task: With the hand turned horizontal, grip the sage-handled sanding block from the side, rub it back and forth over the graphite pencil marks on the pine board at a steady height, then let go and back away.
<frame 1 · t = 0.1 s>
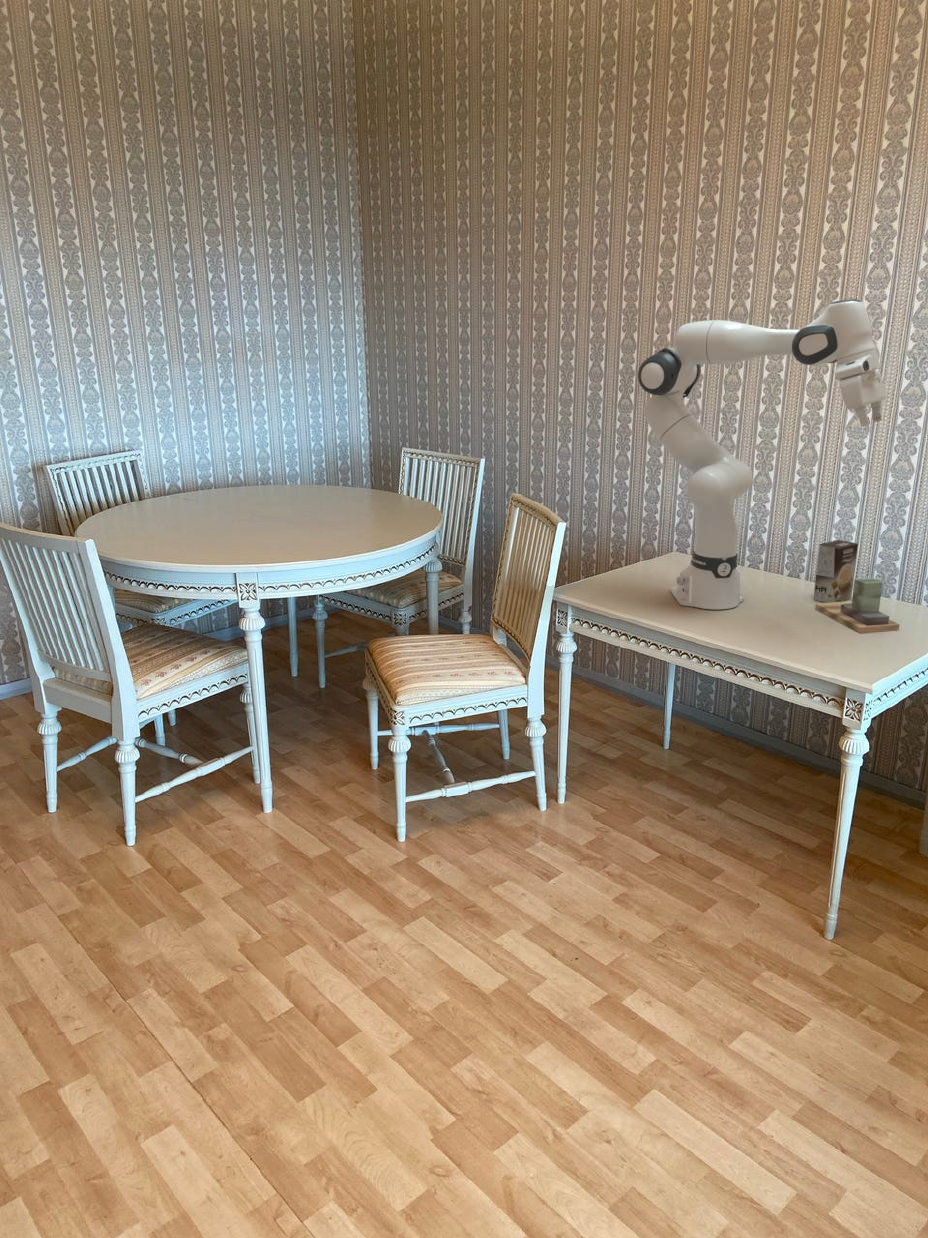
hand: (872, 423, 235), 52 cm above the table, tool tilted 20°, fingers open, 8 cm apart
pine board: (855, 619, 258), on the table
coffee box: (832, 599, 275), on the table
sanding block: (863, 617, 254), point 2 cm above the table, touching pine board
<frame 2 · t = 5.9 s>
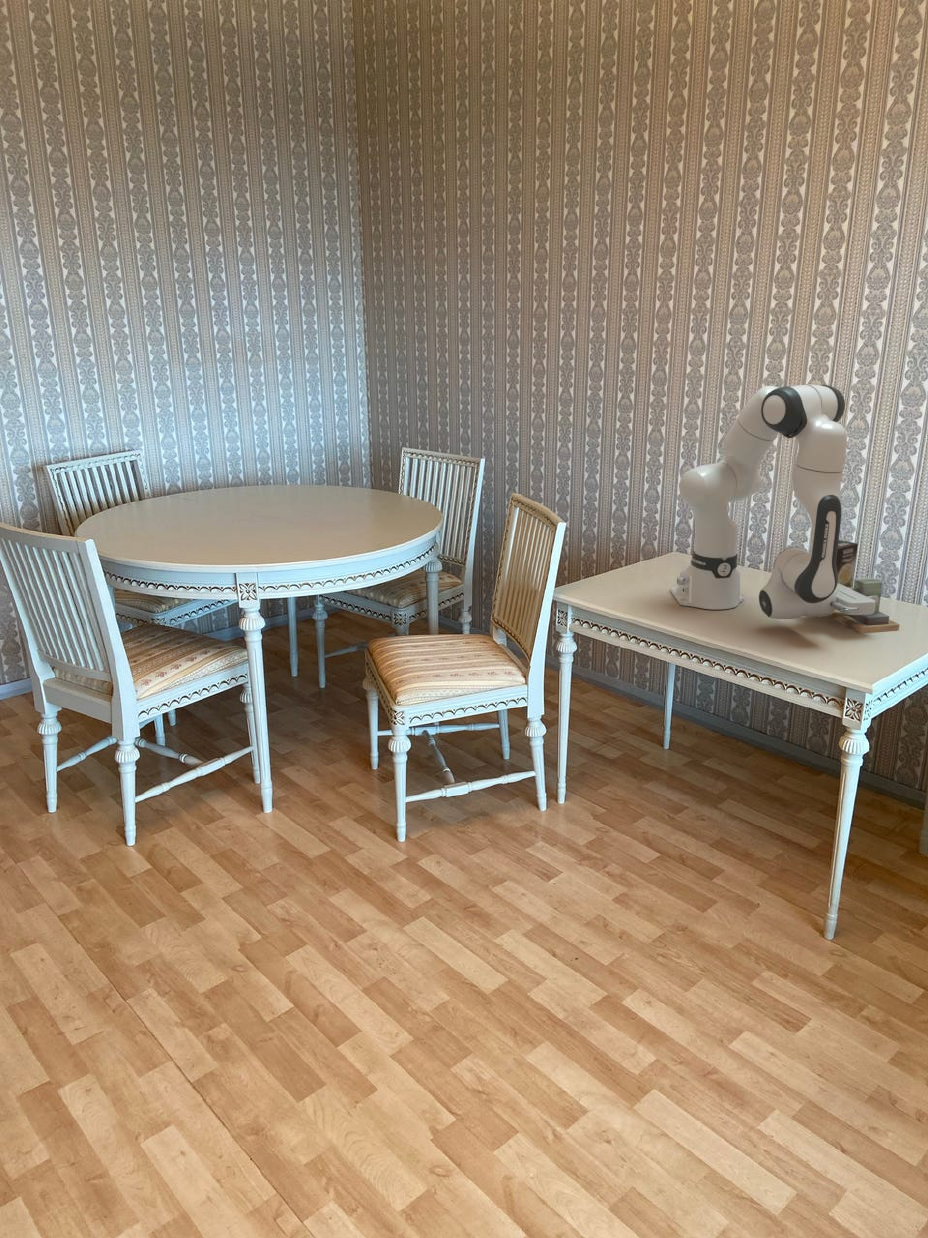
hand: (869, 595, 252), 8 cm above the table, tool horizontal, fingers closed on sanding block, 4 cm apart
sanding block: (863, 617, 254), point 2 cm above the table, touching gripper, pine board
everything else where it was.
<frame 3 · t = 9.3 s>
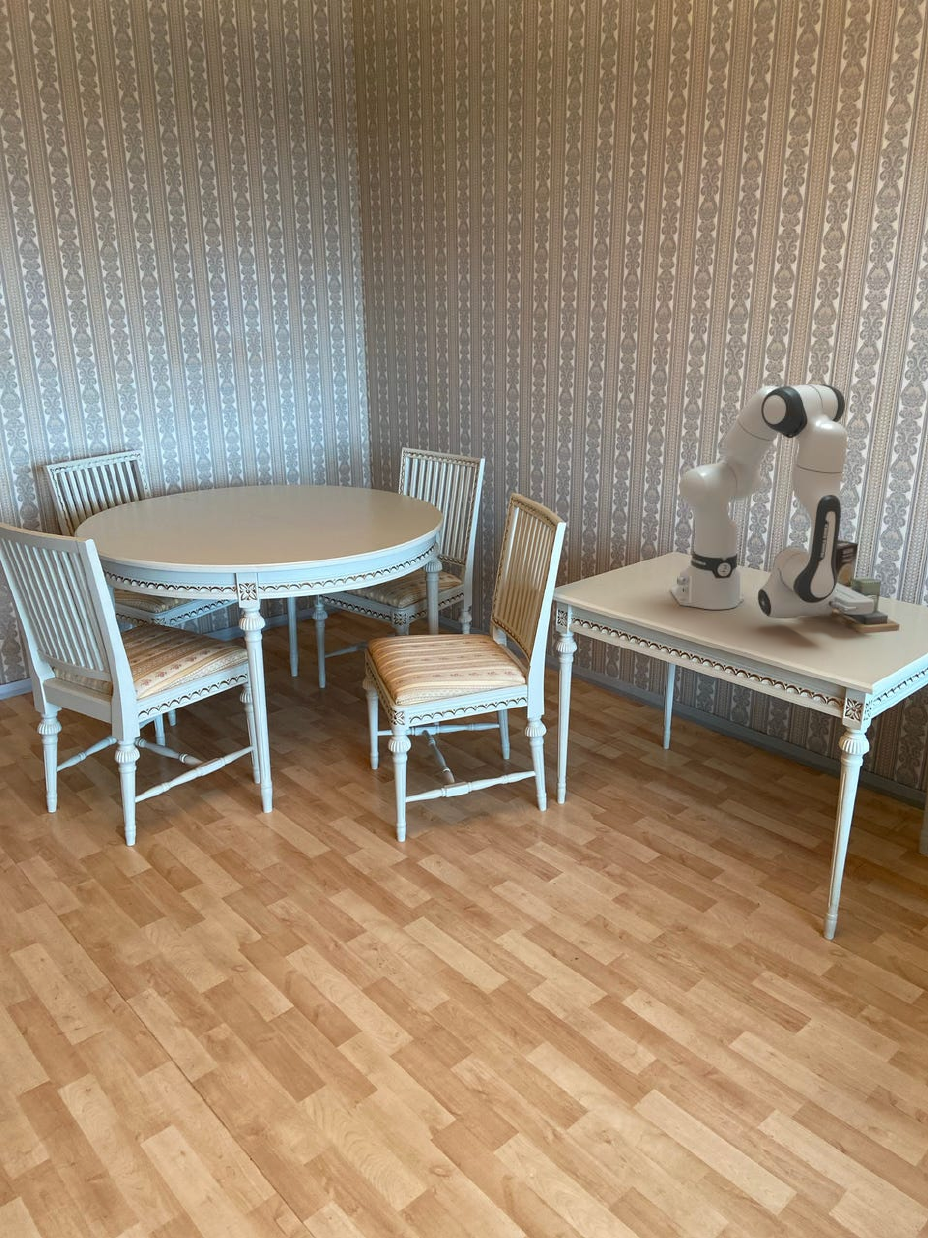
hand: (868, 594, 253), 7 cm above the table, tool horizontal, fingers closed on sanding block, 4 cm apart
sanding block: (862, 616, 255), point 2 cm above the table, touching gripper
everything else where it was.
when the fingers open (7 cm above the table, at t = 13.7 s): sanding block stays where it is, resting on pine board.
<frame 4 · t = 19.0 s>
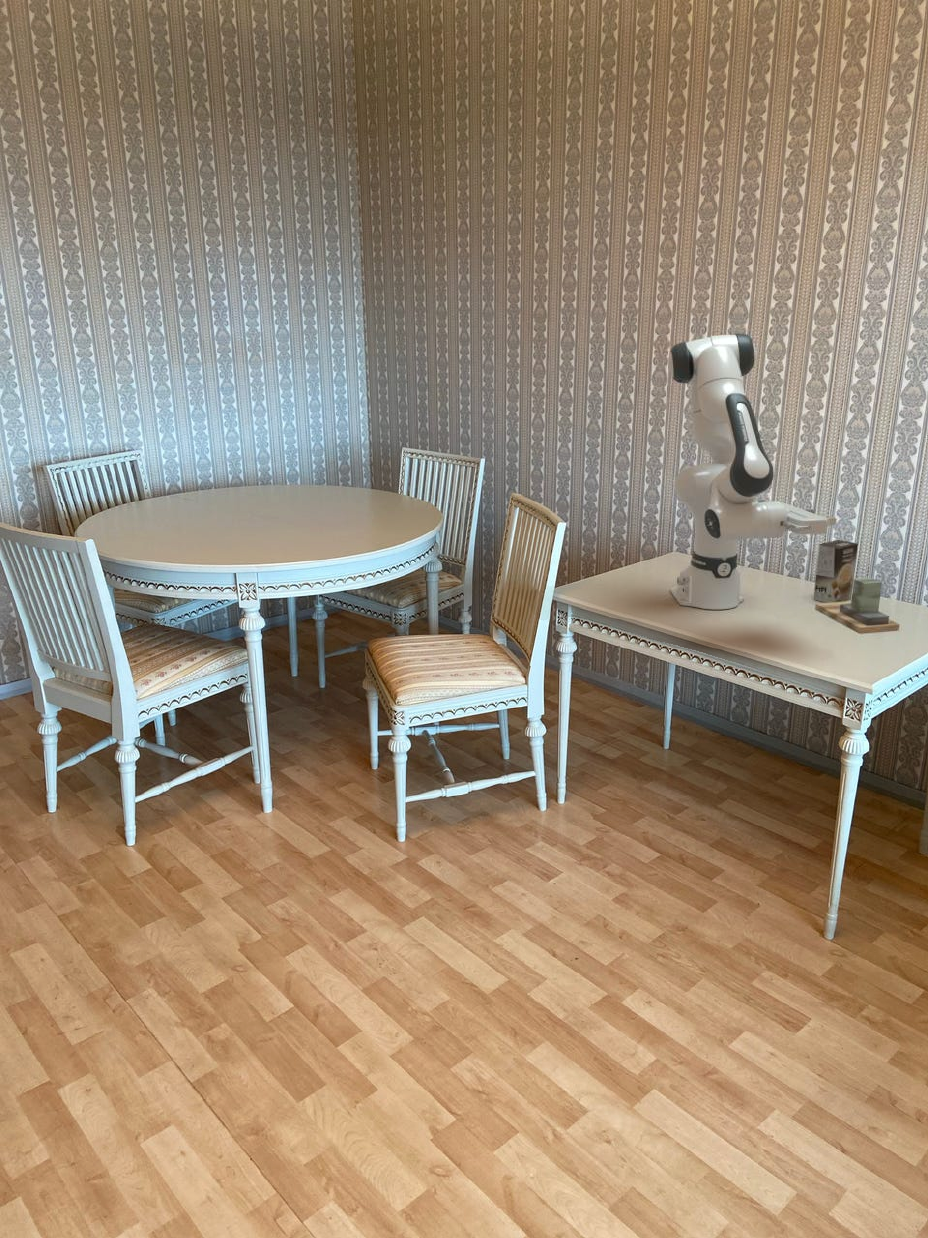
hand: (823, 516, 238), 30 cm above the table, tool horizontal, fingers open, 8 cm apart
sanding block: (863, 617, 254), point 2 cm above the table, touching pine board
everything else where it was.
at the end: sanding block inside the target area on the pine board (3.3 cm from its centre), point 1.5 cm above the pine board's base; sanding block tilted 0°; pine board moved 0.0 cm from its start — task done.
